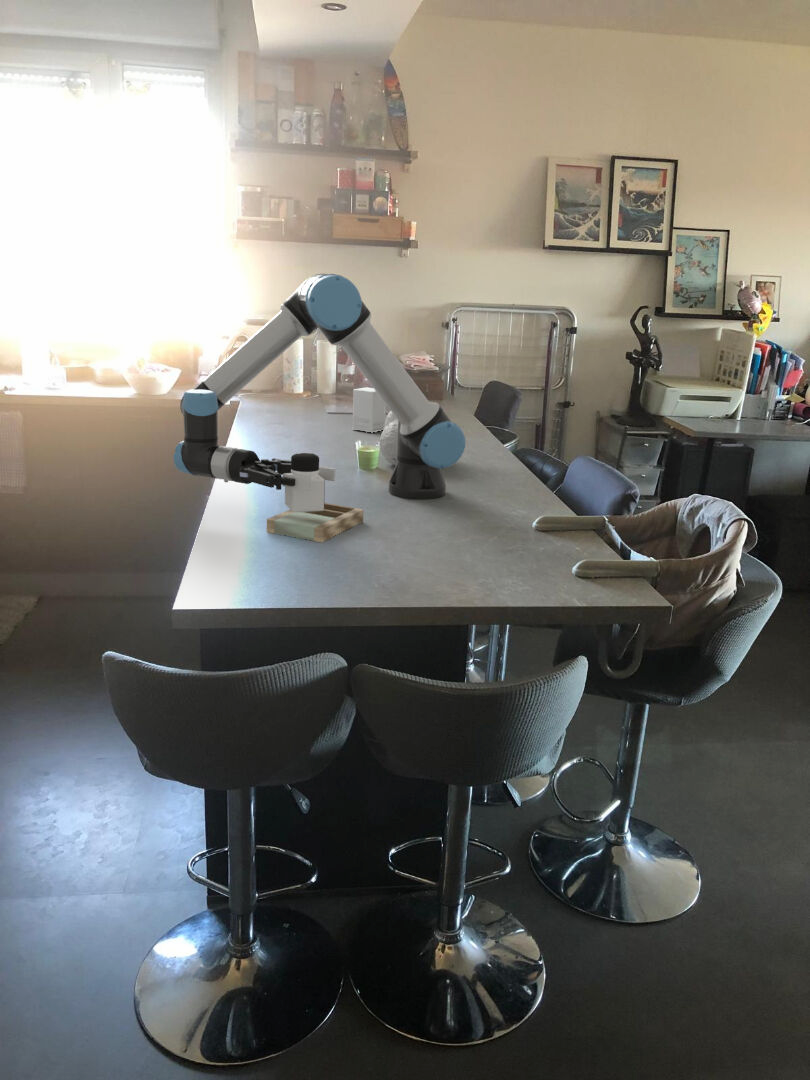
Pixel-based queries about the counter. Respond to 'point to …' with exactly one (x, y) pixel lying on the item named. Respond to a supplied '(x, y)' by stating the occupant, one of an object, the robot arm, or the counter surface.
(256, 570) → the counter surface
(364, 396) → the supplement box
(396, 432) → the cauliflower
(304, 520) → the board
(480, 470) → the counter surface
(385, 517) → the counter surface
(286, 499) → the medicine bottle
